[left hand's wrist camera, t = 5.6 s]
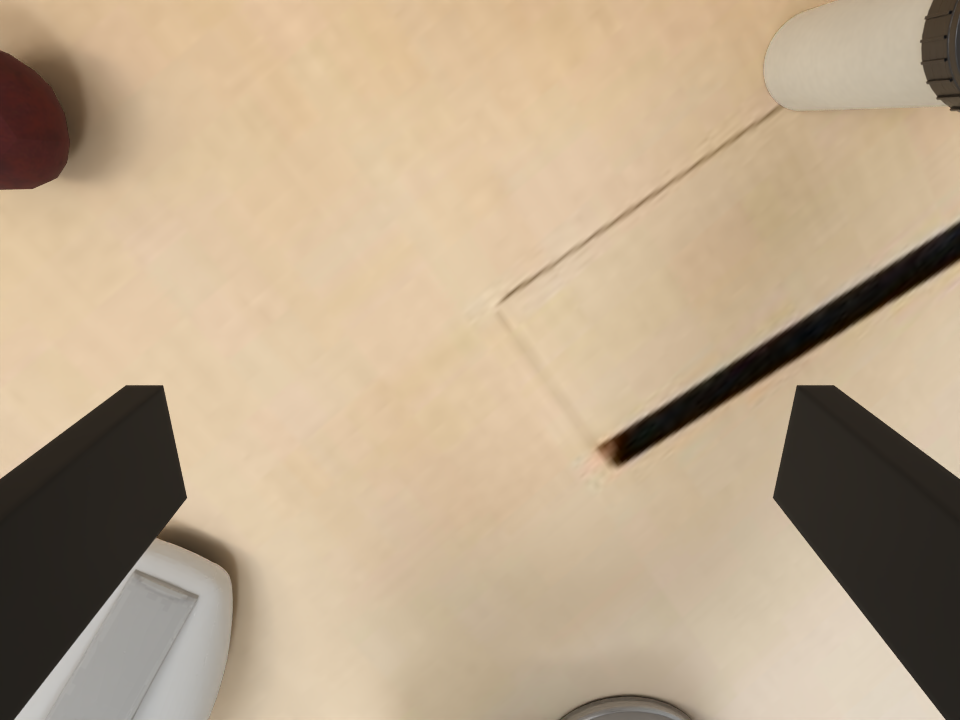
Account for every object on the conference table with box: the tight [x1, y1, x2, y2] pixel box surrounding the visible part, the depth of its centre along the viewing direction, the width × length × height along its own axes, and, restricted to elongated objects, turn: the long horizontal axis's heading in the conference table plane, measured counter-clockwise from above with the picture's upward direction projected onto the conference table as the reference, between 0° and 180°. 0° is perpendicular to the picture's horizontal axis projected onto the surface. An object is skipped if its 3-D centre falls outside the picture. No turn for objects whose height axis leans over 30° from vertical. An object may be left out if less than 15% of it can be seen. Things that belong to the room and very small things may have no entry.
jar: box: [764, 0, 947, 111], centre depth 28 cm, size 5×5×16 cm
